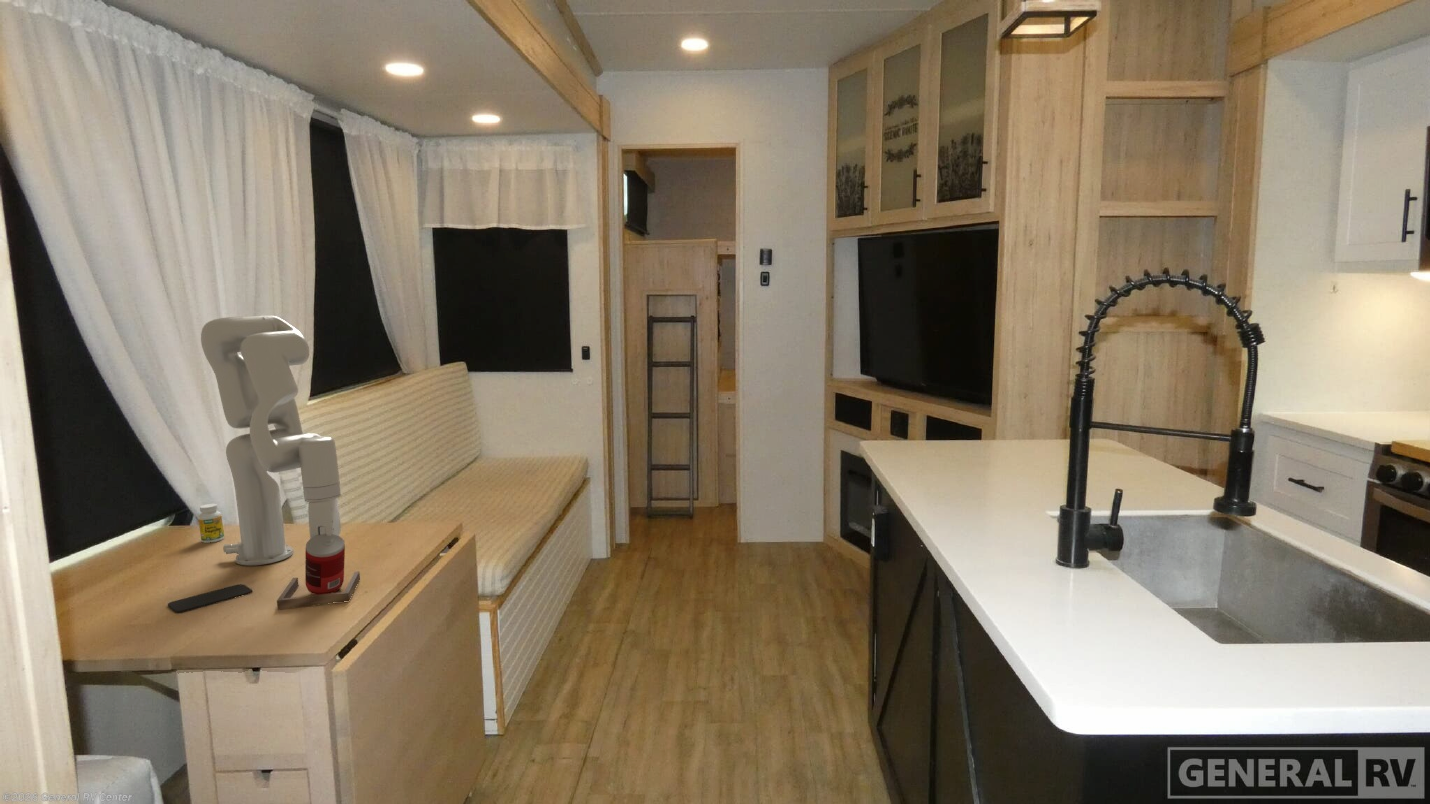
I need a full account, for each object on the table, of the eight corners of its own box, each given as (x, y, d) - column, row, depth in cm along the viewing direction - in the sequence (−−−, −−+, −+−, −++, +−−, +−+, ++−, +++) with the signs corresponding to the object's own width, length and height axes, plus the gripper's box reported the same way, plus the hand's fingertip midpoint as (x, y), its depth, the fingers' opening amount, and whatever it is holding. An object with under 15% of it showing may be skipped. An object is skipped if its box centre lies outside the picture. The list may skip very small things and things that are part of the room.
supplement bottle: (221, 535, 223) (217, 501, 222) (226, 539, 220) (222, 505, 218) (198, 540, 220) (194, 505, 218) (203, 544, 216) (199, 509, 214)
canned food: (348, 575, 187) (349, 535, 182) (336, 597, 179) (337, 556, 175) (312, 572, 185) (313, 531, 181) (299, 594, 178) (300, 552, 174)
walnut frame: (277, 609, 172) (276, 600, 172) (293, 586, 185) (292, 577, 185) (349, 601, 175) (348, 593, 175) (360, 579, 188) (359, 571, 188)
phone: (254, 590, 182) (177, 612, 171) (254, 594, 182) (177, 615, 171) (241, 583, 187) (165, 603, 176) (242, 586, 187) (166, 606, 176)
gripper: (311, 486, 190) (320, 562, 193) (296, 501, 176) (306, 583, 179) (346, 483, 192) (354, 558, 195) (334, 497, 178) (343, 578, 180)
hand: (331, 570), depth 187 cm, fingers closed
